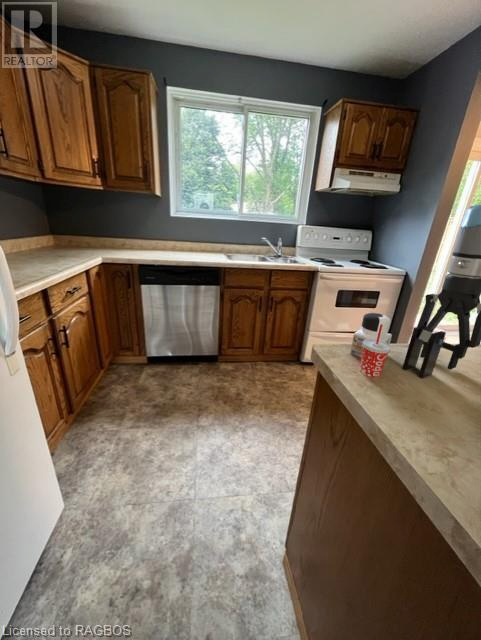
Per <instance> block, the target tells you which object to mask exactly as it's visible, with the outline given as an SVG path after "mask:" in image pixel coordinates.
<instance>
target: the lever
mask: <svg viewBox="0 0 481 640" xmlns="http://www.w3.org/2000/svg"><path fill="white" fill-rule="evenodd" d="M433 333H434V332H429V331H426V330H422V332H421V334H420V336H419V338H418V339H420V340H422V341H425V342H427V343H429V341H430V337H431V334H433ZM454 347H455V345H454V344H452V343H449V342H445V341H443V343H442V346H441V349H443V350H447V351H450V352H452V353H453V350H454Z"/></svg>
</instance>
